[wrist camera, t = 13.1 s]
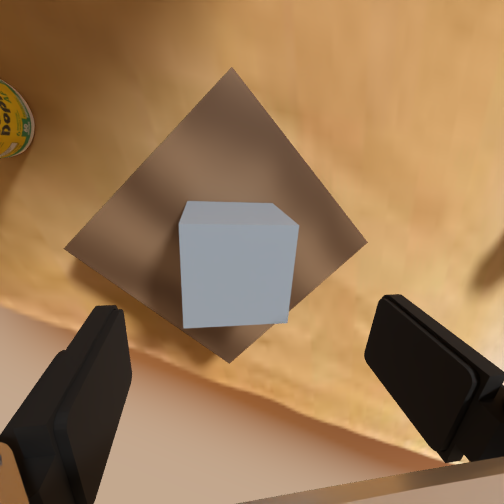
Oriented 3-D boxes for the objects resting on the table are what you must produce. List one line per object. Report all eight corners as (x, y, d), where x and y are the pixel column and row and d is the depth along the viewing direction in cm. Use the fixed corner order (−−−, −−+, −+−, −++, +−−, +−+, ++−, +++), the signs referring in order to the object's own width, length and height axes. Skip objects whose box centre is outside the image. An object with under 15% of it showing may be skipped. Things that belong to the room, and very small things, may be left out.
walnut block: (225, 85, 20) (231, 66, 16) (339, 226, 26) (367, 242, 22) (92, 228, 22) (63, 248, 18) (225, 329, 28) (229, 363, 24)
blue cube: (272, 203, 19) (299, 225, 14) (266, 277, 21) (287, 322, 16) (187, 201, 18) (178, 223, 13) (190, 279, 20) (183, 328, 15)
